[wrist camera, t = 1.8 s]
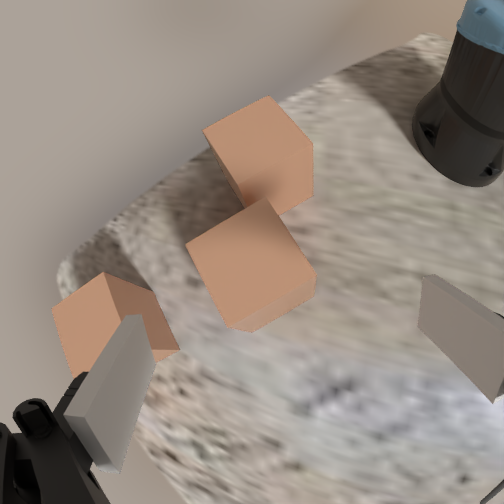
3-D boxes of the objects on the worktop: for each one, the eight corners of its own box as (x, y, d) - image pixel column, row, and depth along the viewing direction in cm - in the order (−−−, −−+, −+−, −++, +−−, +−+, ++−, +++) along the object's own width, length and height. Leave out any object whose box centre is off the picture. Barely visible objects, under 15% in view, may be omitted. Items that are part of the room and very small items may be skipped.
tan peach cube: (153, 291, 36) (103, 271, 26) (180, 349, 33) (132, 349, 23) (107, 320, 36) (51, 308, 26) (130, 375, 33) (74, 380, 23)
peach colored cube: (279, 151, 38) (269, 95, 28) (313, 195, 36) (312, 143, 26) (227, 180, 38) (201, 130, 28) (257, 228, 36) (237, 184, 26)
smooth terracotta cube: (277, 238, 35) (265, 196, 25) (314, 296, 32) (316, 275, 23) (219, 272, 35) (185, 244, 25) (251, 332, 32) (227, 327, 23)
